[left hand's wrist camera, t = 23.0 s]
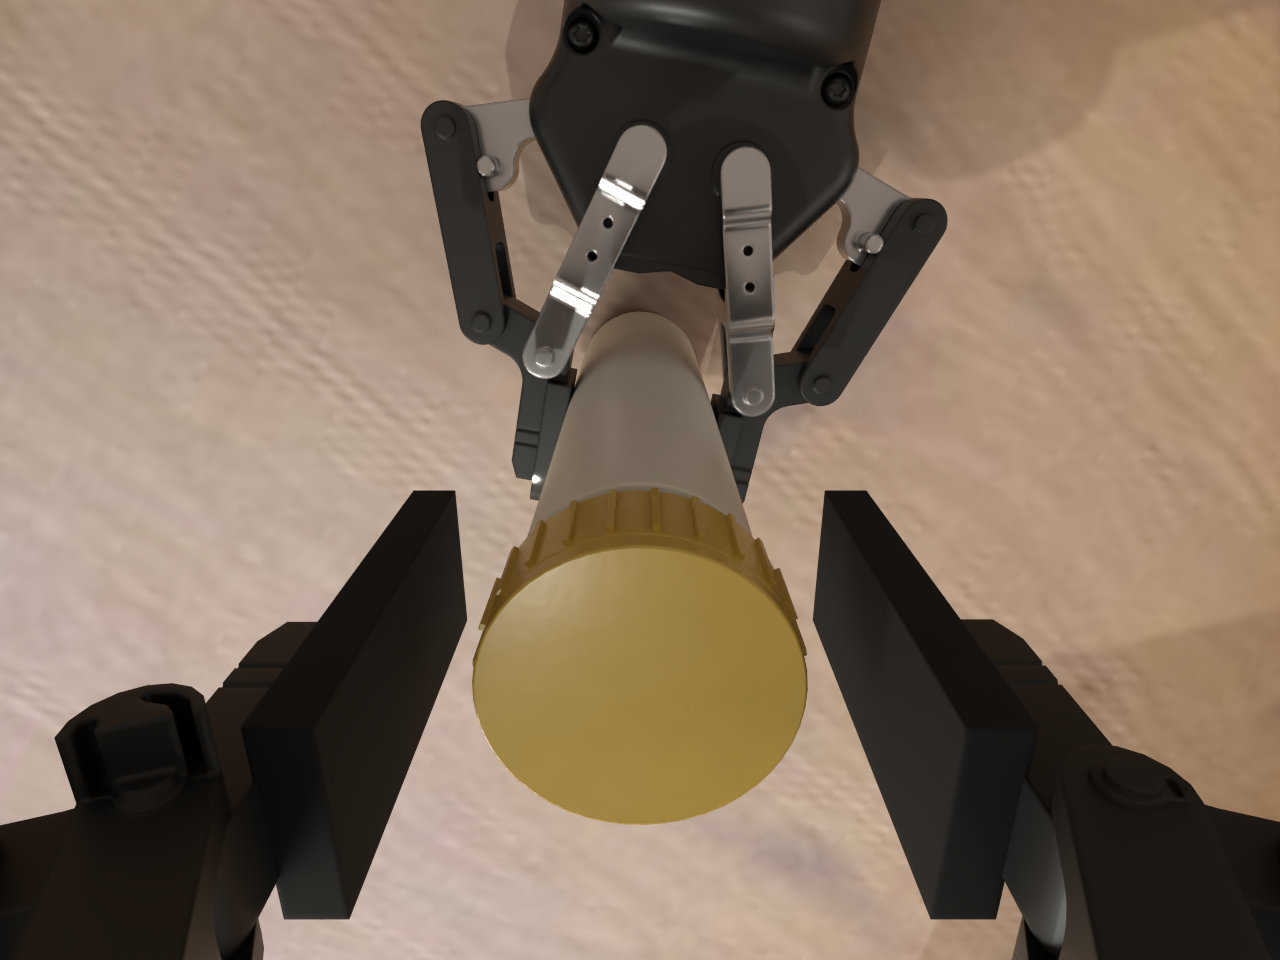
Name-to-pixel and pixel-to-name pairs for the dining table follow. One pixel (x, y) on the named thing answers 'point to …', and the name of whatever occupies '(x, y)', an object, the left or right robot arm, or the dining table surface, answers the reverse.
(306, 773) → the left robot arm
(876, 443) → the dining table surface
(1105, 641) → the dining table surface
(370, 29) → the dining table surface
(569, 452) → the cream cylinder
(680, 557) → the lid
